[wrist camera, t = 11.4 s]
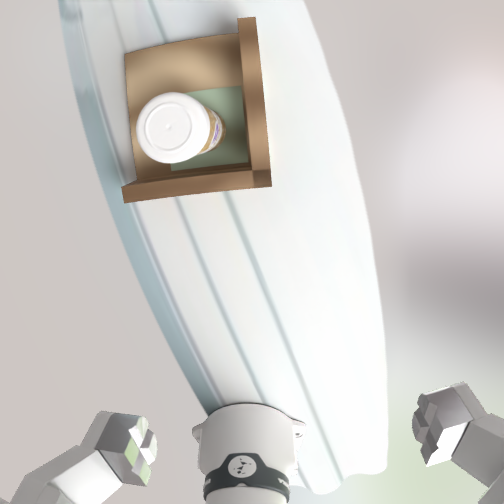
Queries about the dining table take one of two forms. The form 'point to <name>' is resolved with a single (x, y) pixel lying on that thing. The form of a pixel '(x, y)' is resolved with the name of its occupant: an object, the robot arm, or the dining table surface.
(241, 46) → the corner arena
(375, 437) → the dining table surface
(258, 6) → the dining table surface
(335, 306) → the dining table surface
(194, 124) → the sprinkles bottle
